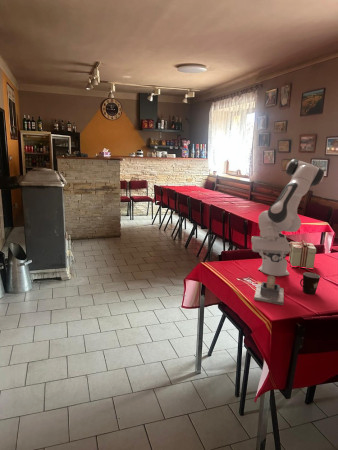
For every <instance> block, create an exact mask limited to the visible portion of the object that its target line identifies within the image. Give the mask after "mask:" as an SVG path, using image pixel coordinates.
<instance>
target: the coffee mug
mask: <svg viewBox="0 0 338 450" xmlns="http://www.w3.org/2000/svg"><path fill="white" fill-rule="evenodd" d="M302 276H303V277H302V278H301V279H300V282H299V284H300V286H301V288H302V293H303V294H306V295H311V296H313V295H316V292H317V289H318V285H319V282H320V279H321V276H320V275H319V274H318V273H317V274H316V272H314V273H313V272H303V273H302Z"/></svg>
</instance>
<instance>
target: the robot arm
mask: <svg viewBox="0 0 338 450" xmlns="http://www.w3.org/2000/svg"><path fill="white" fill-rule="evenodd" d="M285 173H286V175H288V176H289V177H291V179H290V181H289V182H288V183H287V184H286V185H285V187H284V188H283V189H282V190H281V193H280V194H279V196H278V198H277V199H276V200H275V202H273V204H272V205H270V207H269V209H267V210H264V211H262V212H260V213H259V215H258V221H257V222H258V229H259V231H260V232H259V236H258V235H257V236H256V235H253V236H251V238H250V242H251V250H252V252H254V253H259V256H261V260H262V262H261V265H260V266H259V267H258V268H257V269H258V271H259V270H260V272H262V273H263V274H265V275H268V276H274V277H275V276H276V277H284V276H289V275H290V272H289V271H288V270H287V269H288V260H287V259H286V258H287V257H286V256H287V254H290V248H291V246H290V244H289V243H290V242H289V241H288V239H287V234H285V233H284V234H283V233H282V232H289V233H293V232H294V233H295V232H298V230H300V228H301V225H302V220H301V217H300V216H299V214H298V208H299V205H300V203H301V200H302V198H303V196H305V195H306V194H307V193H308V191H309V189H310V188H311V187H314V186H318V185H319V184H320V183H321V182H322V181H323V179H324V176H325V170H324V169H322V168H321V167H317V166H315V165H313V164H312V163H308V162H305V161H302V160H299V159H295V158H293V159H291V160H290V161H289V162H288V163H286V167H285Z"/></svg>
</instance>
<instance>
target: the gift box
mask: <svg viewBox="0 0 338 450" xmlns="http://www.w3.org/2000/svg"><path fill="white" fill-rule="evenodd" d="M288 243H289V246H290V252H289V258H288V261H289V260H290V263H291V265H292V266H300V267H306V268H313V269H314V267H315V259H316V254H317V248H316V247H315V245H314V243H310V242H309V243H308V242H307V241H305V240H303V239H300V242H298V241H290V242H288Z"/></svg>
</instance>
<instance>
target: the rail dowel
mask: <svg viewBox="0 0 338 450" xmlns="http://www.w3.org/2000/svg"><path fill="white" fill-rule="evenodd" d="M276 278H277V276H276V277H275V276H273V275H267V278H266V279H267V280H266V283H267V285H266V288H270V289H274V286H275V284H276Z"/></svg>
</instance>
